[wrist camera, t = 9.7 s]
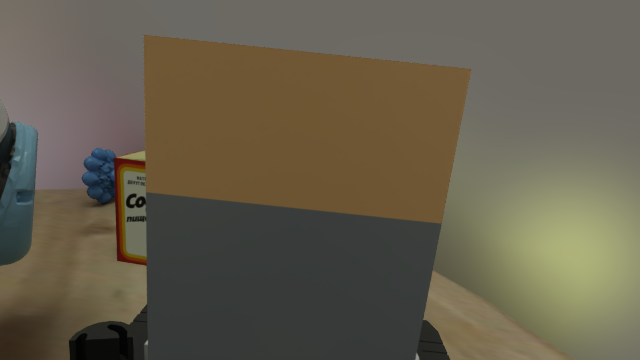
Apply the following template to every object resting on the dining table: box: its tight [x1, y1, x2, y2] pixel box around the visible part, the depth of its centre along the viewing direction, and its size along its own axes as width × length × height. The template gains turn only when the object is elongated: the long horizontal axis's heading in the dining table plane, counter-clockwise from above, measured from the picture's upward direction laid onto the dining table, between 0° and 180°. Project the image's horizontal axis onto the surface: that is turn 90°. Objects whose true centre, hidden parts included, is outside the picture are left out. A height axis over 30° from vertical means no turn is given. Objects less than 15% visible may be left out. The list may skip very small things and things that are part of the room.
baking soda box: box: [114, 151, 147, 266], centre depth 56 cm, size 10×6×16 cm
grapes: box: [82, 148, 116, 204], centre depth 76 cm, size 12×7×12 cm, turn 178°
